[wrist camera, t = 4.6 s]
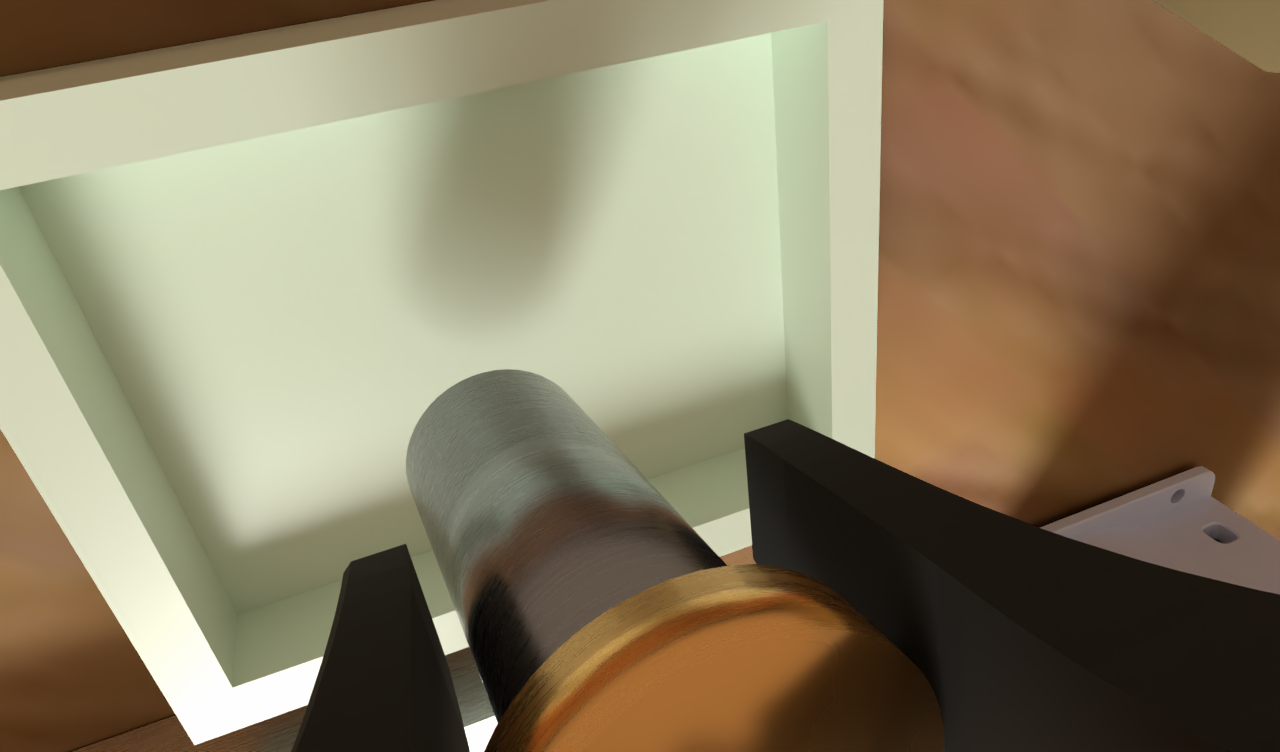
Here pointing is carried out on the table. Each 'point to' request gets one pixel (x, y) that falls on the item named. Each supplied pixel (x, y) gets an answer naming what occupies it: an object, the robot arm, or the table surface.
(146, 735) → the block
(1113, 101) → the table surface
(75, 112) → the tray
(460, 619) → the copper-topped gray cylinder
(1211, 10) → the squeeze bottle
